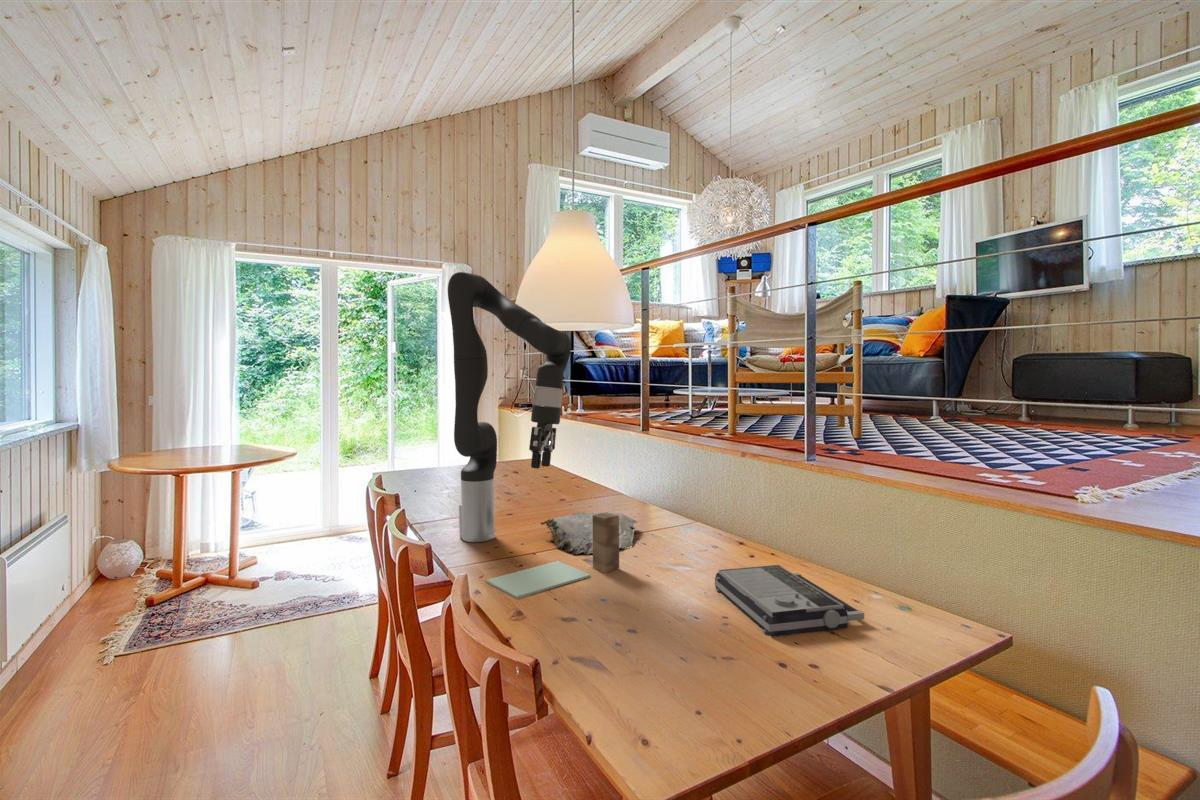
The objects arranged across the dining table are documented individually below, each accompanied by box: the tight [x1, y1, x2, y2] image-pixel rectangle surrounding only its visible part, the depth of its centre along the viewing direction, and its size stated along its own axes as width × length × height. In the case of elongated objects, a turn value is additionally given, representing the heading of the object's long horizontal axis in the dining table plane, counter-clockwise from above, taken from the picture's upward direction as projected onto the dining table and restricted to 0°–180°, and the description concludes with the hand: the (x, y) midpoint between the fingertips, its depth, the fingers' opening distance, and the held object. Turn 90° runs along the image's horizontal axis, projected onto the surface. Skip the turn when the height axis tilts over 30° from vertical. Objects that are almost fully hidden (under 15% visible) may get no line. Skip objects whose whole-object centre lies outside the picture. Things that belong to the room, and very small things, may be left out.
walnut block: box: [592, 511, 620, 573], centre depth 142 cm, size 4×4×13 cm
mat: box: [485, 560, 591, 600], centre depth 135 cm, size 20×13×1 cm, turn 130°
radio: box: [714, 564, 865, 637], centre depth 118 cm, size 24×5×20 cm
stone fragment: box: [540, 511, 638, 556], centre depth 167 cm, size 25×29×6 cm
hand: (540, 467), depth 153 cm, fingers open, 8 cm apart
